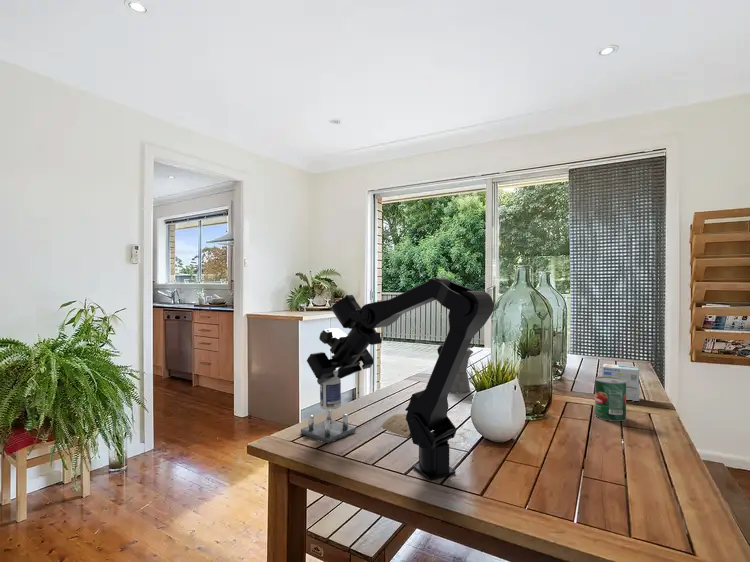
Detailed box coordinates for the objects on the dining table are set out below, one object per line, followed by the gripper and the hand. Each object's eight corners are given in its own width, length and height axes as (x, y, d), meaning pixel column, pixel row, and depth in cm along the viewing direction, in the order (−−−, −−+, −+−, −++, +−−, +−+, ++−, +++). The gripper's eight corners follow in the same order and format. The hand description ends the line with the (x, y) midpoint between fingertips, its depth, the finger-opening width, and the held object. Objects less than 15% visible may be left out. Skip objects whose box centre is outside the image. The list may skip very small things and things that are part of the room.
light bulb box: (639, 398, 137) (639, 366, 137) (639, 402, 131) (639, 369, 131) (603, 393, 142) (603, 362, 143) (602, 397, 137) (602, 366, 137)
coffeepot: (480, 390, 146) (479, 341, 146) (465, 395, 139) (465, 343, 140) (445, 383, 157) (445, 337, 157) (430, 387, 151) (430, 339, 151)
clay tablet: (406, 440, 101) (406, 429, 101) (376, 431, 107) (376, 421, 107) (437, 425, 112) (437, 415, 112) (407, 417, 118) (407, 408, 118)
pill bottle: (344, 405, 106) (344, 368, 106) (334, 411, 101) (333, 372, 102) (327, 403, 109) (326, 367, 109) (316, 408, 104) (315, 370, 104)
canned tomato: (588, 414, 119) (588, 377, 119) (609, 412, 121) (608, 375, 122) (611, 423, 111) (611, 383, 112) (633, 420, 114) (632, 381, 114)
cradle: (355, 432, 105) (355, 414, 105) (327, 443, 97) (327, 424, 97) (329, 423, 112) (329, 406, 112) (300, 433, 104) (300, 415, 104)
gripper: (365, 316, 110) (338, 352, 117) (311, 320, 96) (284, 361, 103) (387, 347, 104) (357, 384, 111) (333, 357, 90) (303, 398, 98)
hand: (326, 380), depth 106 cm, fingers closed on pill bottle, 5 cm apart
